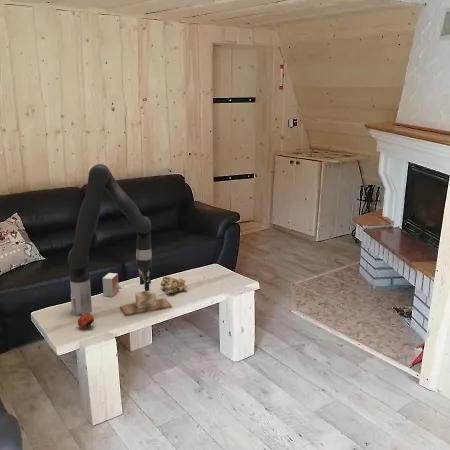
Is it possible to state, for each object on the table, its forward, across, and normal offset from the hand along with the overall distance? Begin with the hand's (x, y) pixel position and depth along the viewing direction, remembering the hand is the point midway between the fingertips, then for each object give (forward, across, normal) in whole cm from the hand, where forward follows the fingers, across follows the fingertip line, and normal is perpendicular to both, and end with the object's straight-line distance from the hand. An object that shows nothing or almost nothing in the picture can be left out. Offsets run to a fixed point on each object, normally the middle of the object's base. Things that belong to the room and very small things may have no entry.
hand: (144, 287), depth 243 cm
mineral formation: (+11, -16, +20) cm, 28 cm away
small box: (+12, -25, -12) cm, 30 cm away
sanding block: (+10, 0, 0) cm, 10 cm away
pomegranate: (+12, +9, -30) cm, 34 cm away
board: (+11, 0, 0) cm, 11 cm away
